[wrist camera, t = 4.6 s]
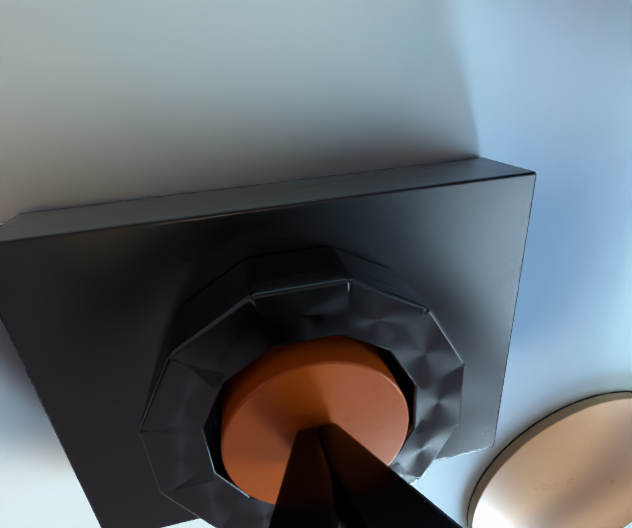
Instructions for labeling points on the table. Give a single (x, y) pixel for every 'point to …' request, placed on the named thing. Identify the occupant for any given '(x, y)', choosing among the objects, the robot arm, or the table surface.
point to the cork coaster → (563, 471)
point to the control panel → (260, 318)
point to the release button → (307, 407)
